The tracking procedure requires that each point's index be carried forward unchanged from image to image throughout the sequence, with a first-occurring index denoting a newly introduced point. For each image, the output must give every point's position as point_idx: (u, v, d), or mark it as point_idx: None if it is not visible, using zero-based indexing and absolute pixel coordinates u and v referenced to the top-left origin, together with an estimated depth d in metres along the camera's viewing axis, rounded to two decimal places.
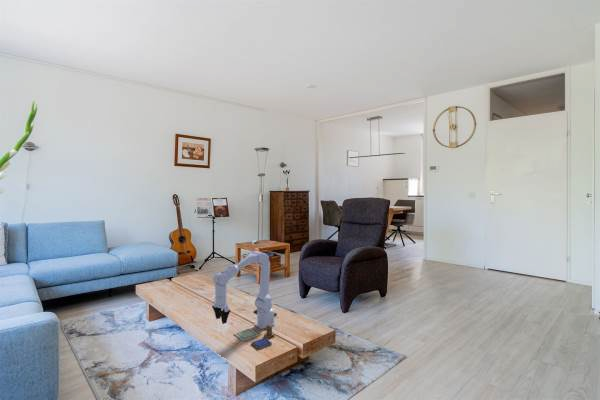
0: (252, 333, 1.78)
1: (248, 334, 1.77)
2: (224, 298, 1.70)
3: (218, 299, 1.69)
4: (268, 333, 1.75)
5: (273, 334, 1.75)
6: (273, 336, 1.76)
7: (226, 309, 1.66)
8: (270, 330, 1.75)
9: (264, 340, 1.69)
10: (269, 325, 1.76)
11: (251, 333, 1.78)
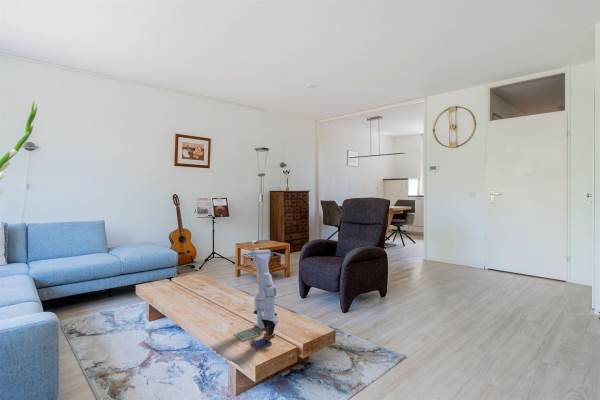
0: (252, 333, 1.78)
1: (248, 334, 1.77)
2: (273, 311, 1.74)
3: (267, 312, 1.73)
4: (268, 333, 1.75)
5: (273, 334, 1.75)
6: (273, 336, 1.76)
7: (276, 322, 1.70)
8: None
9: (264, 340, 1.69)
10: None
11: (251, 333, 1.78)
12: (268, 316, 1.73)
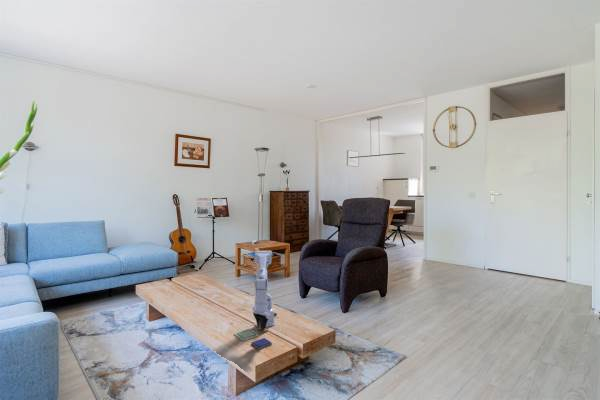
0: (252, 333, 1.78)
1: (248, 334, 1.77)
2: (265, 304, 1.65)
3: (259, 305, 1.64)
4: (261, 329, 1.66)
5: (266, 330, 1.67)
6: (266, 332, 1.67)
7: (268, 316, 1.61)
8: None
9: (264, 340, 1.69)
10: None
11: (251, 333, 1.78)
12: (260, 310, 1.64)
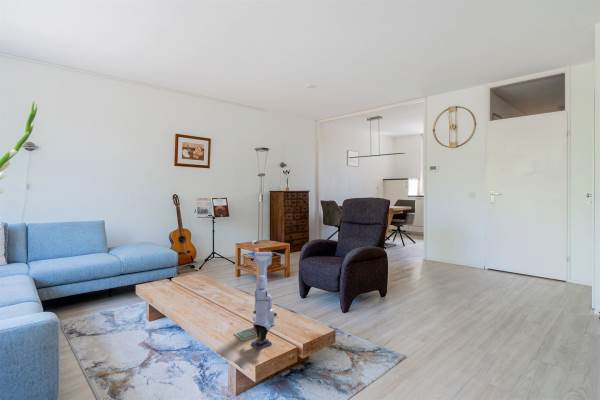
0: (252, 333, 1.78)
1: (248, 334, 1.77)
2: (265, 315, 1.65)
3: (259, 316, 1.64)
4: None
5: (266, 339, 1.67)
6: (266, 341, 1.67)
7: (268, 327, 1.61)
8: None
9: None
10: None
11: (251, 333, 1.78)
12: (260, 321, 1.64)
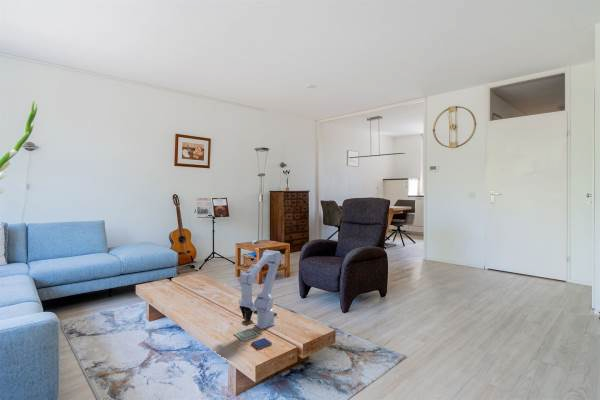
0: (252, 333, 1.78)
1: (248, 334, 1.77)
2: (250, 297, 1.75)
3: (244, 298, 1.74)
4: (246, 320, 1.76)
5: (251, 321, 1.77)
6: (251, 323, 1.77)
7: (253, 308, 1.71)
8: None
9: (264, 340, 1.69)
10: None
11: (251, 333, 1.78)
12: (245, 303, 1.74)
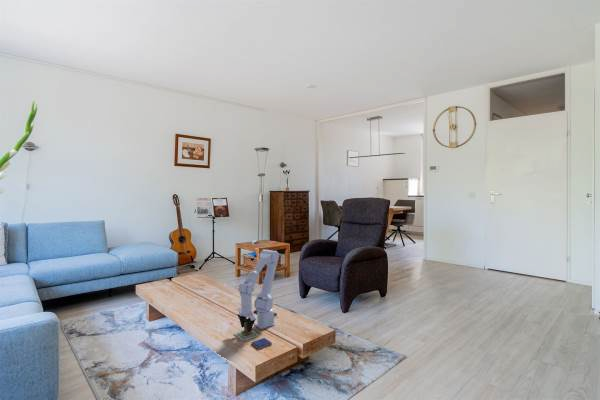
0: (252, 333, 1.78)
1: None
2: (250, 307, 1.75)
3: (244, 308, 1.74)
4: (246, 330, 1.76)
5: (251, 331, 1.77)
6: (251, 333, 1.77)
7: (252, 318, 1.71)
8: None
9: (264, 340, 1.69)
10: None
11: None
12: (245, 312, 1.74)
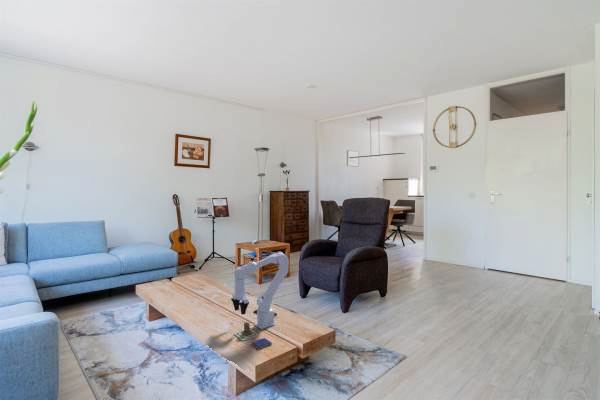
0: (252, 333, 1.78)
1: None
2: (243, 291, 1.84)
3: (238, 292, 1.82)
4: (246, 330, 1.76)
5: (251, 331, 1.77)
6: (251, 333, 1.77)
7: (245, 301, 1.80)
8: (247, 327, 1.76)
9: (264, 340, 1.69)
10: (246, 322, 1.78)
11: None
12: (238, 296, 1.82)
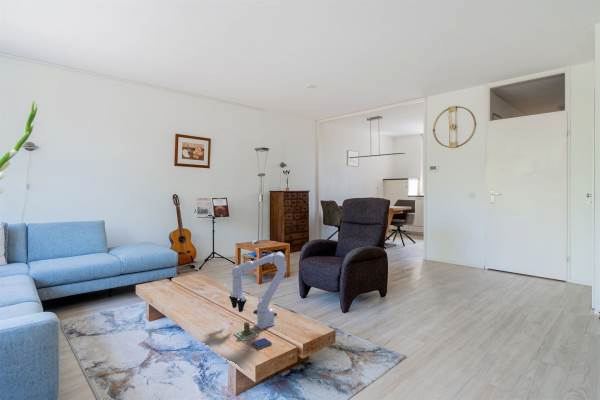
0: (252, 333, 1.78)
1: None
2: (240, 289, 1.87)
3: (235, 290, 1.86)
4: (246, 330, 1.76)
5: (251, 331, 1.77)
6: (251, 333, 1.77)
7: (243, 299, 1.83)
8: (247, 327, 1.76)
9: (264, 340, 1.69)
10: (246, 322, 1.78)
11: None
12: (236, 294, 1.86)
